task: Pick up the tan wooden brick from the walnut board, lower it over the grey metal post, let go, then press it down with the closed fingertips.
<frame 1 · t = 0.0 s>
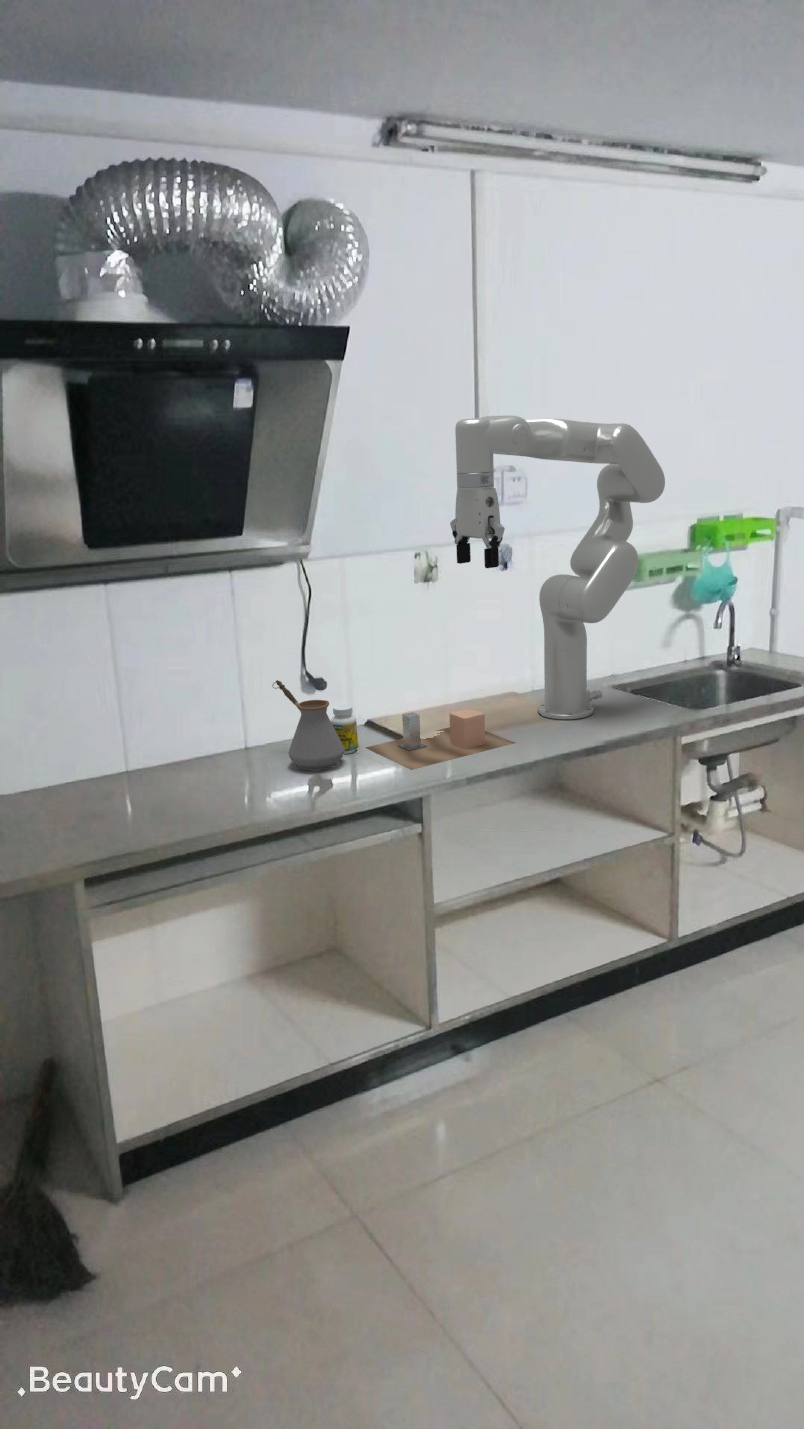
hand: (477, 565, 219), 37 cm above the worktop, tool pointing down, fingers open, 9 cm apart
tan wooden brick: (467, 743, 221), point 1 cm above the worktop, touching board
supplement bottle: (345, 751, 222), on the worktop
coffee pot: (305, 759, 219), on the worktop
board: (440, 748, 221), on the worktop
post: (412, 750, 221), resting on board
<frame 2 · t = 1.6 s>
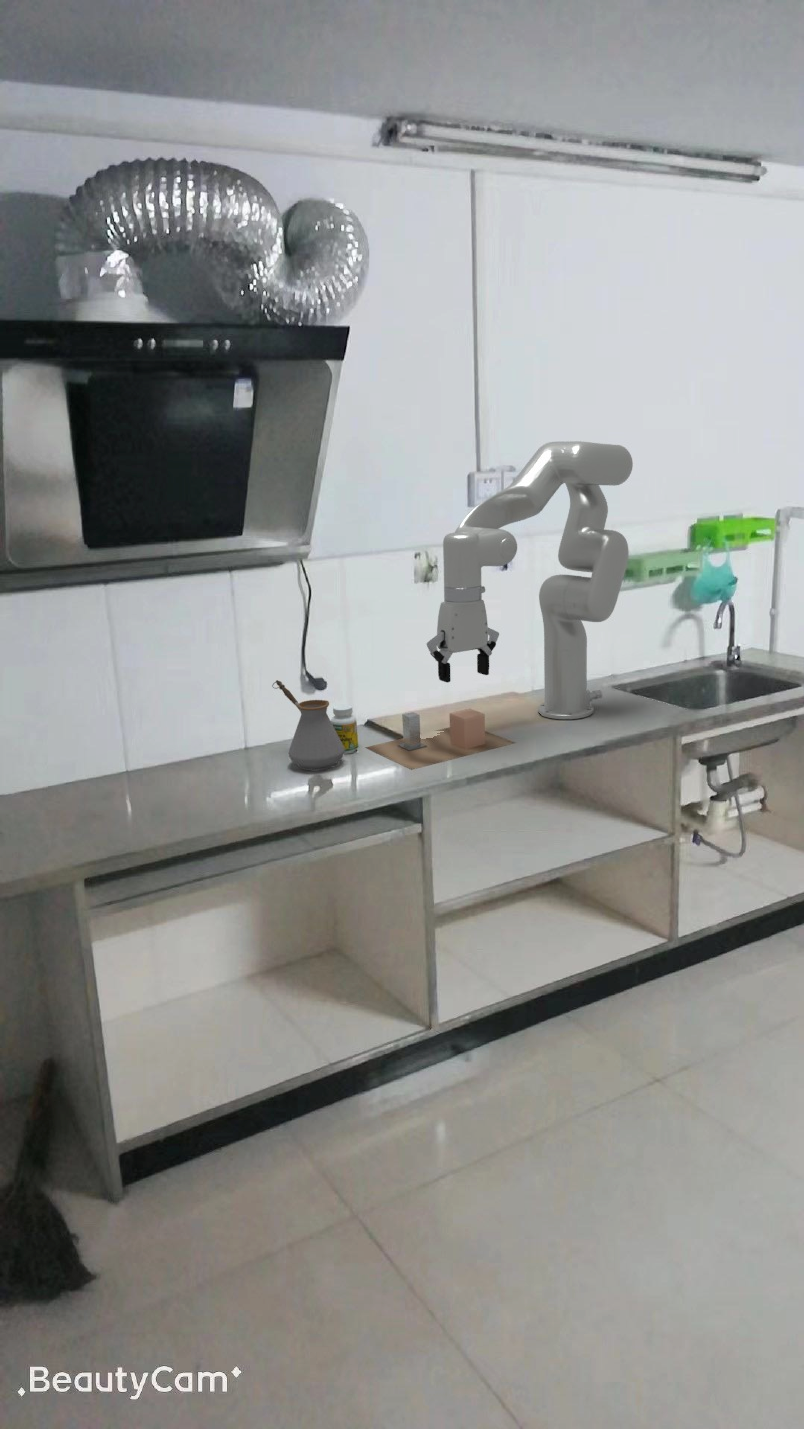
hand: (464, 677, 216), 15 cm above the worktop, tool pointing down, fingers open, 9 cm apart
nothing on the worktop moved.
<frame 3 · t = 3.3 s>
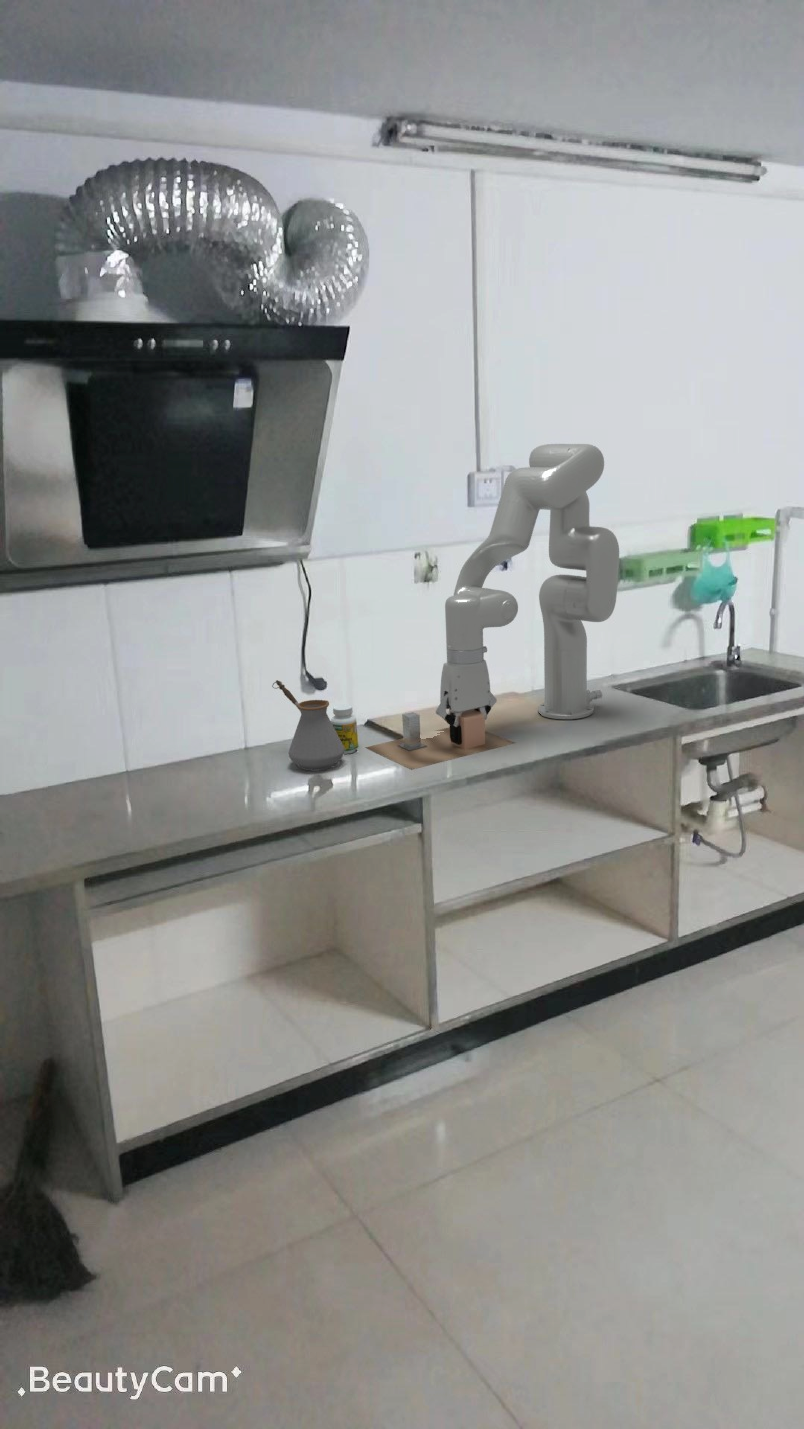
hand: (467, 739, 220), 2 cm above the worktop, tool pointing down, fingers closed on tan wooden brick, 5 cm apart
tan wooden brick: (467, 743, 220), point 1 cm above the worktop, touching board, gripper
everything else where it was.
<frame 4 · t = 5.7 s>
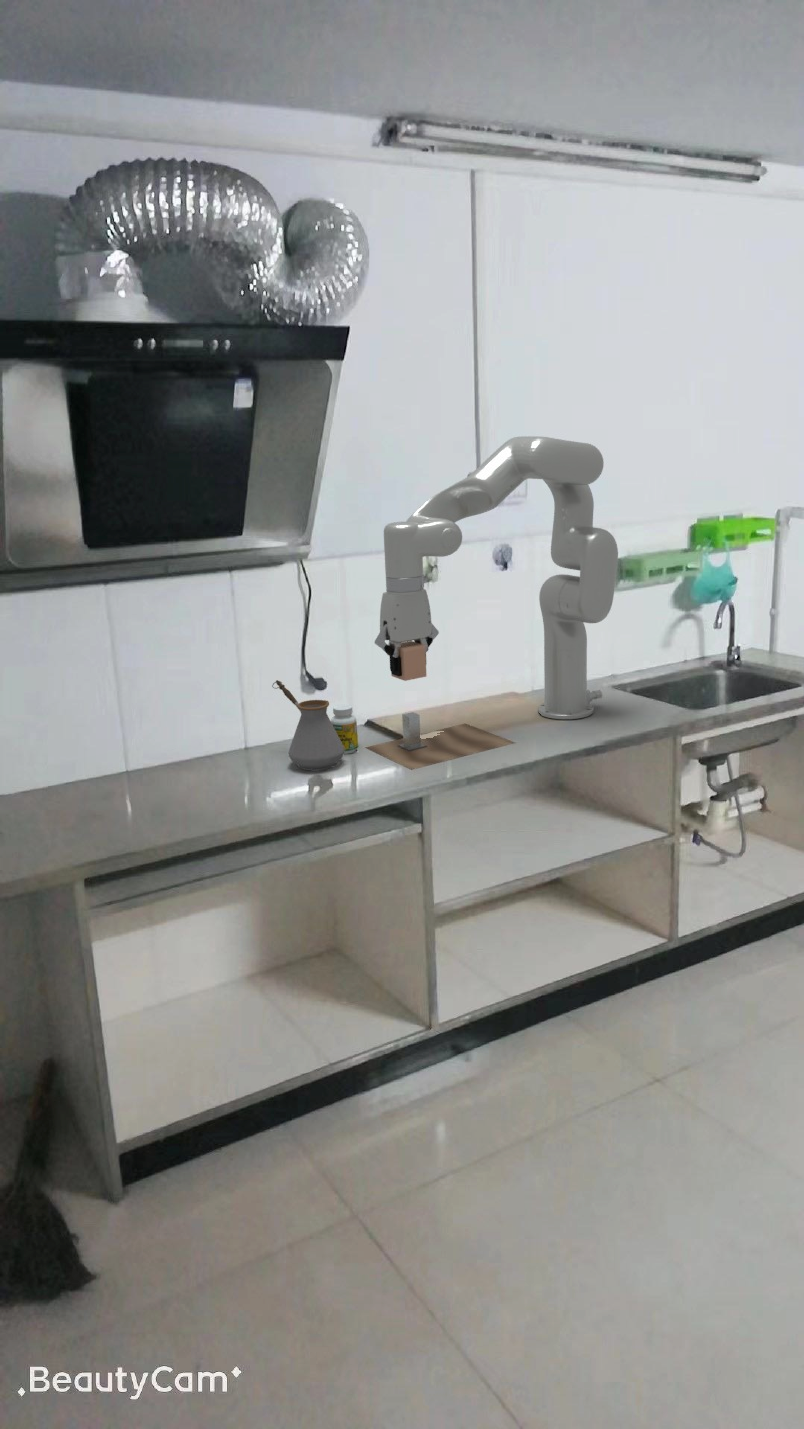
hand: (408, 671, 216), 17 cm above the worktop, tool pointing down, fingers closed on tan wooden brick, 5 cm apart
tan wooden brick: (408, 676, 216), point 16 cm above the worktop, touching gripper
everything else where it was.
when the fingers open (4 cm above the worktop, at t = 8.4 s): tan wooden brick stays where it is, resting on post.
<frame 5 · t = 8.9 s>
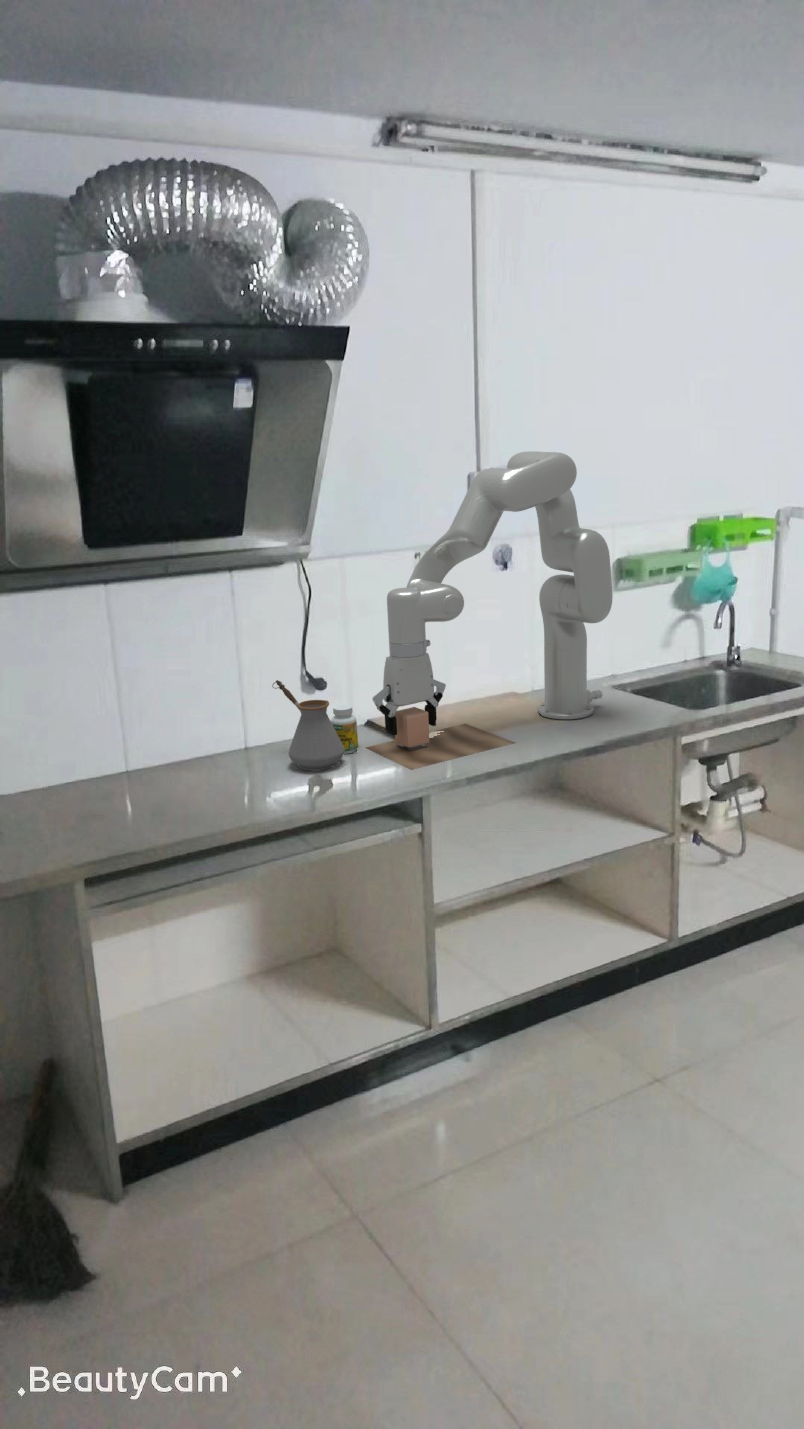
hand: (411, 729, 219), 5 cm above the worktop, tool pointing down, fingers open, 9 cm apart
tan wooden brick: (412, 742, 220), point 2 cm above the worktop, touching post
everything else where it was.
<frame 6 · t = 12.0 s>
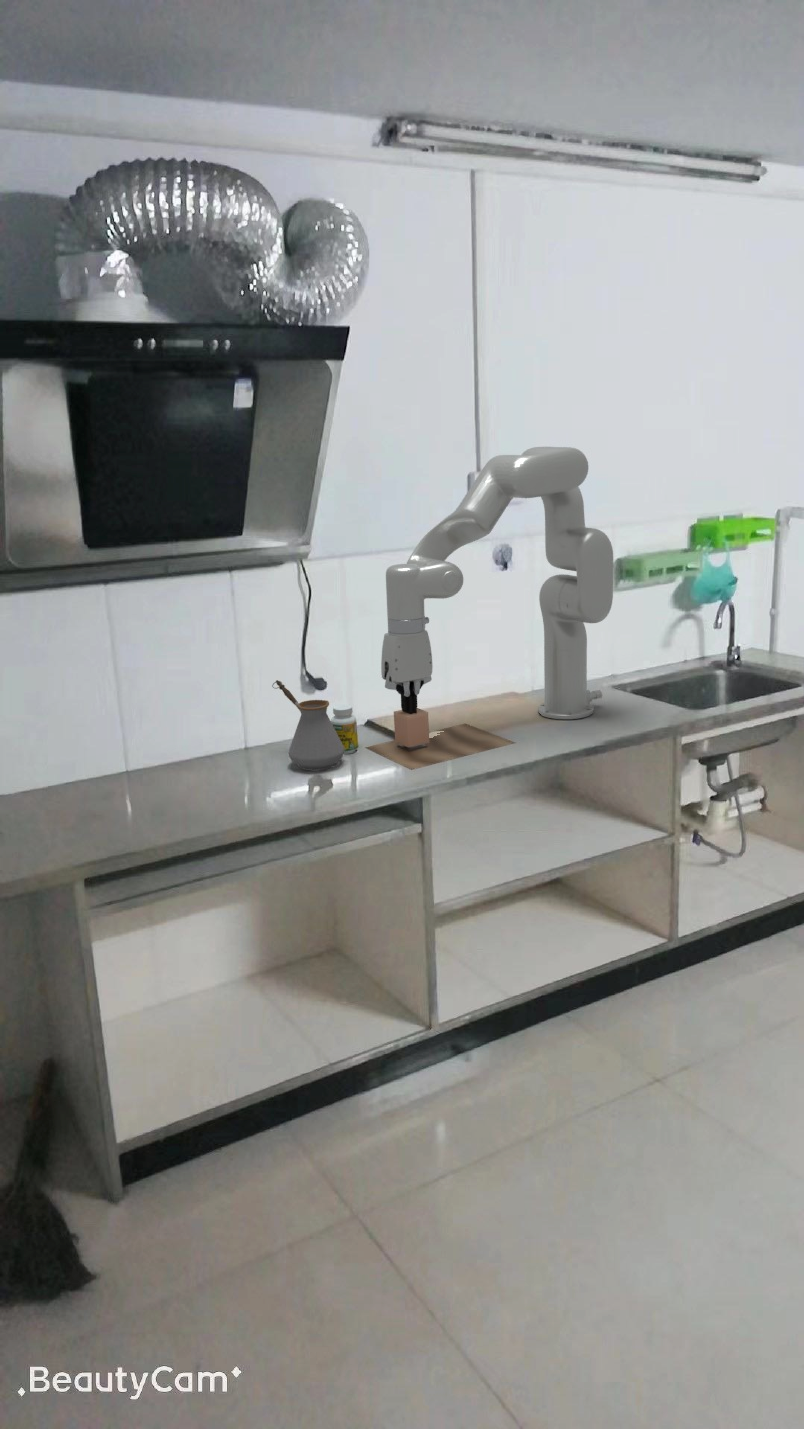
hand: (409, 712, 218), 8 cm above the worktop, tool pointing down, fingers closed
tan wooden brick: (412, 742, 220), point 2 cm above the worktop, touching gripper, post
everything else where it was.
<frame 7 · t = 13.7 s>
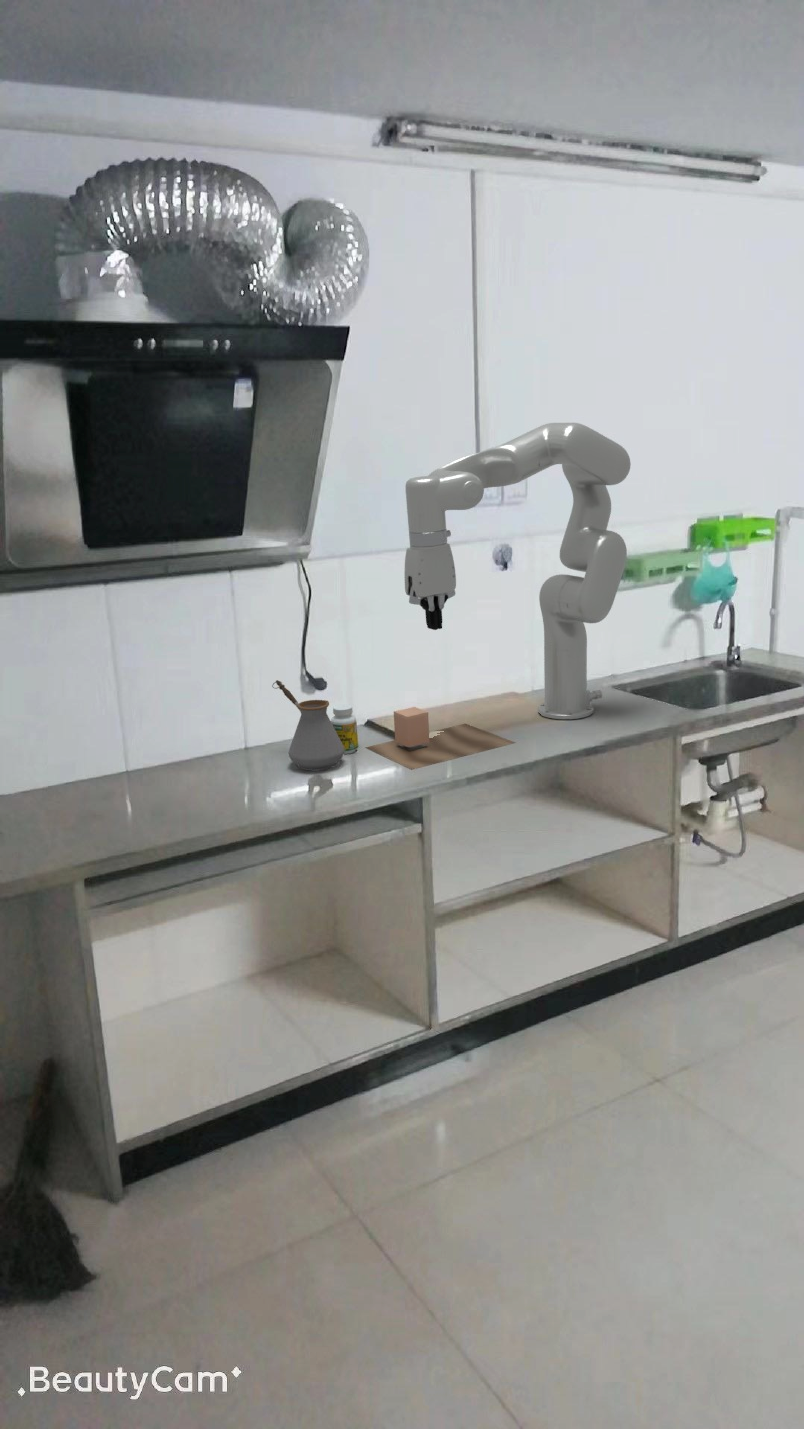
hand: (434, 628, 217), 25 cm above the worktop, tool pointing down, fingers closed
tan wooden brick: (412, 742, 220), point 2 cm above the worktop, touching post
everything else where it was.
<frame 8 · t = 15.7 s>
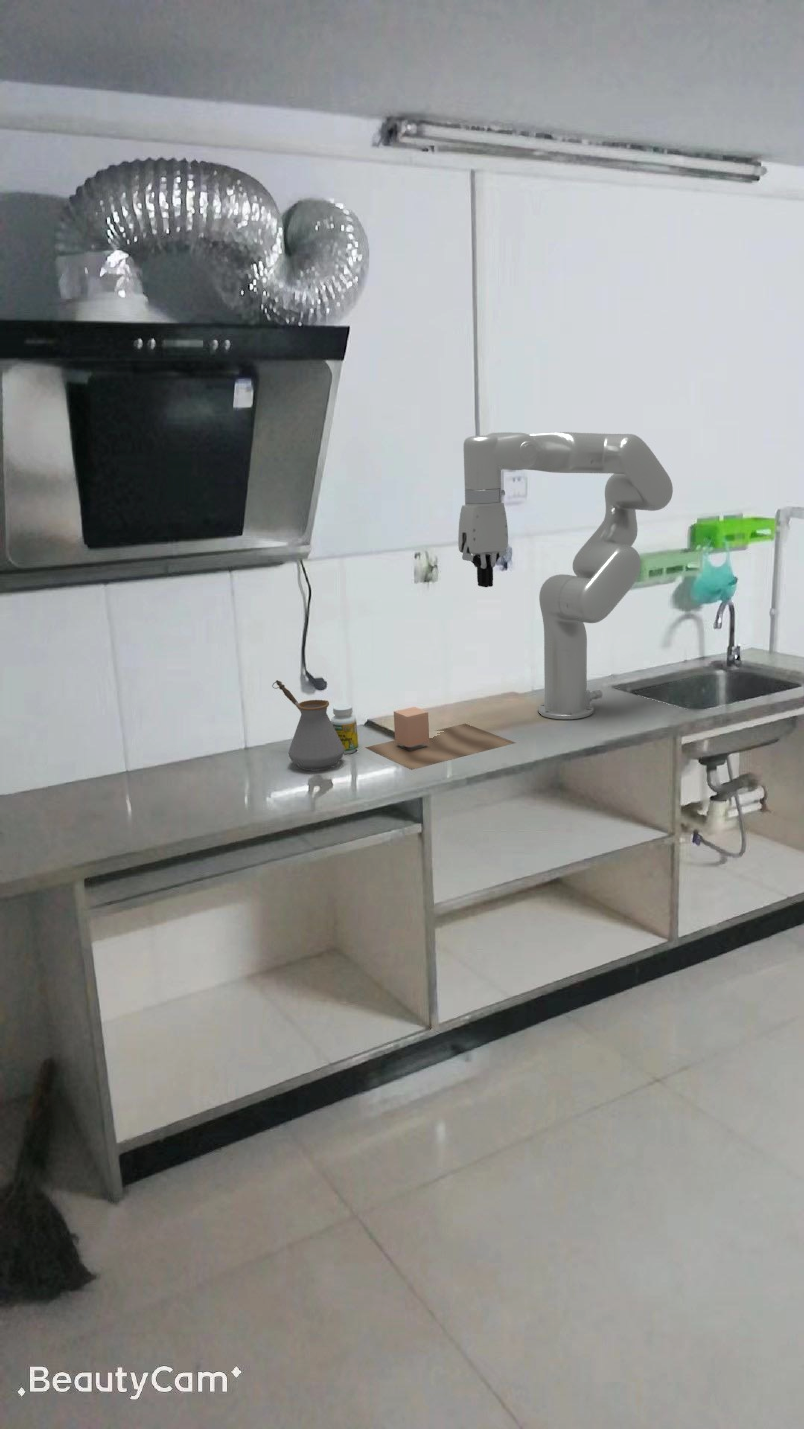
hand: (485, 586, 222), 32 cm above the worktop, tool pointing down, fingers closed
nothing on the worktop moved.
at the end: tan wooden brick 0.0 cm from the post (horizontally); tan wooden brick point 1.8 cm above the worktop; the gripper is holding nothing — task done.
